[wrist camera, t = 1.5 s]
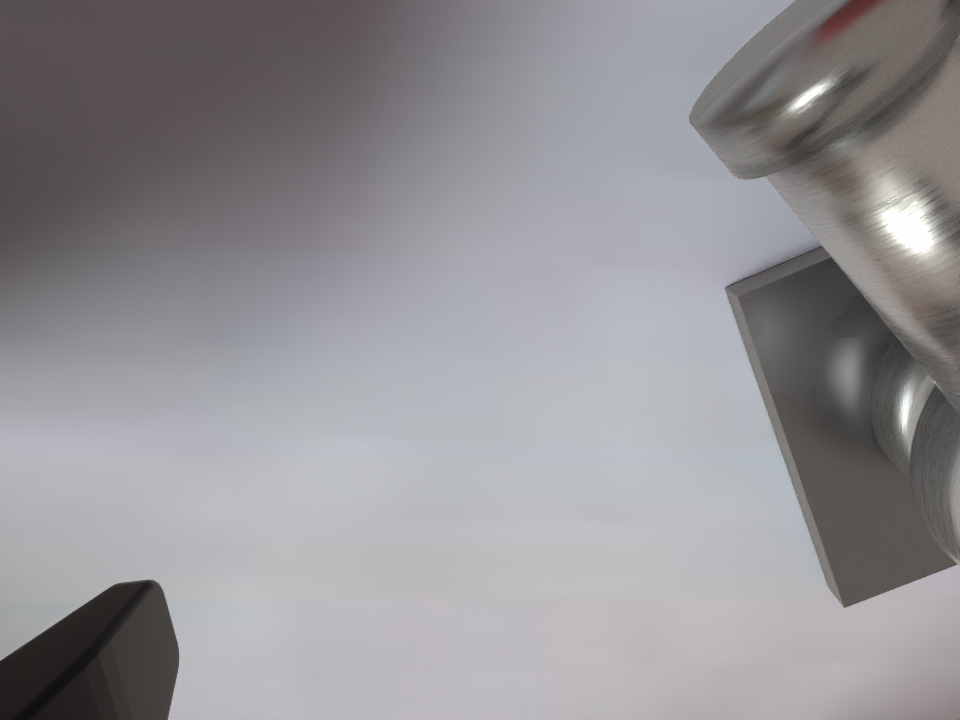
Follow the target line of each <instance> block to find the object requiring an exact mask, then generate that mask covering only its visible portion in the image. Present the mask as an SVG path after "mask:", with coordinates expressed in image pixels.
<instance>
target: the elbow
mask: <svg viewBox="0 0 960 720" xmlns="http://www.w3.org/2000/svg"><path fill="white" fill-rule="evenodd" d="M689 119H690V123H691V124H692V126H693V127H694V128H695V129H696V131H697V132H698V133H699V134H700V135H701V137H702V138H703V139H704V140H705V141H706V143H707V144H708V145H709V146H710V147H711V149H712V150H713V151H714V152H715V154H716V155H717V156H718V157H719V158H720V160H721V161H722V162H723V163H724V164H725V166H726V167H727V168H728V169H729V170H730V172H731V173H732V174H733V175H734V176H735V177H737V178H739V179H755V178H760V177H764V176H766V177H767V179H768V180H769V181H770V182H771V184H772V185H773V186H774V187H775V189H776V190H777V191H778V192H779V193H780V195H781V196H782V197H783V198H784V200H785V201H786V202H787V203H788V204H789V206H790V207H791V208H792V209H793V211H794V212H795V213H796V214H797V216H798V217H799V218H800V219H801V220H802V222H803V223H804V224H805V225H806V227H807V228H808V229H809V230H810V231H811V233H812V234H813V235H814V236H815V238H816V239H817V240H818V241H819V242H820V244H821V245H822V246H823V247H824V249H825V250H826V251H827V252H828V254H829V255H830V256H831V257H832V258H833V260H834V261H835V262H836V263H837V265H838V266H839V267H840V268H841V269H842V271H843V272H844V273H845V274H846V276H847V277H848V278H849V279H850V281H851V282H852V283H853V284H854V285H855V287H856V288H857V289H858V290H859V292H860V293H861V294H862V295H863V296H864V298H865V299H866V300H867V301H868V303H869V304H870V305H871V306H872V308H873V309H874V310H875V311H876V312H877V314H878V315H879V316H880V317H881V319H882V320H883V321H884V322H885V323H886V325H887V326H888V327H889V328H890V330H891V331H892V332H893V333H894V335H895V336H896V337H897V338H898V339H899V341H900V342H901V343H902V344H903V346H904V347H905V348H906V349H907V350H908V352H909V353H910V354H911V355H912V357H913V358H914V359H915V360H916V361H917V363H918V364H919V365H920V366H921V368H922V369H923V370H924V371H925V373H926V374H927V375H928V376H929V377H930V379H931V380H932V381H933V382H934V384H935V386H934V388H933V390H932V391H931V393H930V395H929V397H928V399H927V400H926V402H925V404H924V407H923V409H922V412H921V414H920V417H919V419H918V421H917V425H916V428H915V432H914V436H913V439H912V445H911V452H910V460H909V480H910V487H911V493H912V498H913V502H914V505H915V508H916V511H917V514H918V516H919V518H920V520H921V522H922V524H923V526H924V528H925V530H926V531H927V532H928V534H929V535H930V536H931V538H932V539H933V540H934V542H935V543H936V544H937V545H938V546H939V547H940V548H941V549H942V550H943V551H944V552H945V553H946V554H947V555H948V556H949V557H951V558H952V559H953V560H954V561H955V562H956V563H957V564H958V565H959V566H960V0H796V1H795V2H793V3H792V4H791V5H790V6H789V7H787V8H786V9H785V10H784V11H783V12H781V13H780V14H779V15H778V16H777V17H775V18H774V19H773V20H772V21H771V22H770V23H769V24H767V25H766V26H765V27H764V28H763V29H762V30H761V31H760V32H759V33H757V34H756V35H755V36H754V37H753V38H752V39H751V40H750V41H749V42H748V43H747V44H746V45H745V46H744V47H743V48H742V49H741V50H740V51H739V52H738V53H737V54H736V55H735V56H734V57H733V58H732V59H731V60H730V61H729V62H728V63H727V64H726V65H725V66H724V67H723V68H722V69H721V70H720V71H719V73H718V74H717V75H716V76H715V77H714V78H713V80H712V81H711V82H710V83H709V84H708V86H707V87H706V88H705V90H704V91H703V92H702V94H701V95H700V97H699V98H698V100H697V101H696V103H695V105H694V106H693V109H692V111H691V113H690V117H689Z"/></svg>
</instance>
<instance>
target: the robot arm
mask: <svg viewBox="0 0 960 720" xmlns="http://www.w3.org/2000/svg"><path fill="white" fill-rule="evenodd" d="M178 667H179V648H178V643H177V639H176V635H175V632H174V628H173V624H172V621H171V617H170V613H169V610H168V606H167V602H166V599H165V595H164V592H163V590H162V588H161V586H160V585H159V583H157V582H156V581H154V580H142V581H133V582H124V583H118V584H115V585H113V586H111V587H110V588H108V589H107V590H105V591H104V592H102V593H101V594H99V595H98V596H96V597H95V598H93V599H92V600H90V601H89V602H87V603H86V604H84V605H83V606H81V607H80V608H78V609H77V610H75V611H74V612H72V613H71V614H69V615H68V616H67V617H65V618H64V619H62V620H61V621H59V622H58V623H56V624H55V625H53V626H52V627H50V628H49V629H47V630H46V631H44V632H43V633H41V634H40V635H38V636H37V637H35V638H34V639H32V640H31V641H29V642H28V643H26V644H25V645H23V646H22V647H20V648H19V649H17V650H16V651H14V652H13V653H11V654H10V655H8V656H7V657H5V658H4V659H2V660H1V661H0V720H168V715H169V711H170V706H171V701H172V697H173V692H174V687H175V682H176V678H177V673H178Z"/></svg>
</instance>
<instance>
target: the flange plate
mask: <svg viewBox="0 0 960 720" xmlns="http://www.w3.org/2000/svg"><path fill="white" fill-rule="evenodd" d="M725 290H726V293H727V296H728V299H729V302H730V305H731V308H732V310H733V313H734V316H735V319H736V322H737V325H738V328H739V331H740V333H741V336H742V339H743V342H744V345H745V348H746V351H747V354H748V357H749V359H750V362H751V365H752V368H753V371H754V374H755V377H756V380H757V382H758V385H759V388H760V391H761V394H762V397H763V400H764V403H765V406H766V408H767V411H768V414H769V417H770V420H771V423H772V426H773V429H774V432H775V434H776V437H777V440H778V443H779V446H780V449H781V452H782V455H783V457H784V460H785V463H786V466H787V469H788V472H789V475H790V478H791V481H792V483H793V486H794V489H795V492H796V495H797V498H798V501H799V504H800V506H801V509H802V512H803V515H804V518H805V521H806V524H807V527H808V530H809V532H810V535H811V538H812V541H813V544H814V547H815V550H816V553H817V555H818V558H819V561H820V564H821V567H822V570H823V573H824V576H825V579H826V581H827V584H828V587H829V589H830V590H831V591H832V593H833V594H834V595H835V597H836V598H837V599H838V600H839V602H840V603H841V604H842V606H843V607H844V608H845V607H848V606H851V605H853V604H856V603H858V602H861V601H864V600H866V599H869V598H871V597H874V596H877V595H879V594H882V593H884V592H887V591H890V590H892V589H895V588H897V587H900V586H903V585H905V584H908V583H911V582H913V581H916V580H918V579H921V578H924V577H926V576H929V575H931V574H934V573H937V572H939V571H942V570H944V569H947V568H950V567H952V566H955V565H957V563H956V562H955V561H954V560H953V559H952V558H951V557H949V556H948V555H947V554H946V553H945V552H944V551H943V550H942V549H941V548H940V547H939V546H938V545H937V544H936V543H935V542H934V540H933V539H932V538H931V536H930V535H929V534H928V532H927V531H926V530H925V528H924V526H923V524H922V522H921V520H920V518H919V516H918V514H917V511H916V508H915V505H914V502H913V498H912V493H911V487H910V480H909V460H910V452H911V445H912V439H913V436H914V432H915V428H916V425H917V421H918V419H919V417H920V414H921V412H922V409H923V407H924V404H925V402H926V400H927V399H928V397H929V395H930V393H931V391H932V390H933V388H934V386H935V384H934V382H933V381H932V380H931V379H930V377H929V376H928V375H927V374H926V373H925V371H924V370H923V369H922V368H921V366H920V365H919V364H918V363H917V361H916V360H915V359H914V358H913V357H912V355H911V354H910V353H909V352H908V350H907V349H906V348H905V347H904V346H903V344H902V343H901V342H900V341H899V339H898V338H897V337H896V336H895V335H894V333H893V332H892V331H891V330H890V328H889V327H888V326H887V325H886V323H885V322H884V321H883V320H882V319H881V317H880V316H879V315H878V314H877V312H876V311H875V310H874V309H873V308H872V306H871V305H870V304H869V303H868V301H867V300H866V299H865V298H864V296H863V295H862V294H861V293H860V292H859V290H858V289H857V288H856V287H855V285H854V284H853V283H852V282H851V281H850V279H849V278H848V277H847V276H846V274H845V273H844V272H843V271H842V269H841V268H840V267H839V266H838V265H837V263H836V262H835V261H834V260H833V258H832V257H831V256H830V255H829V254H828V252H827V251H826V250H825V249H824V247H823V246H822V247H820V248H817V249H815V250H813V251H810V252H808V253H806V254H803V255H801V256H799V257H796V258H794V259H791V260H789V261H787V262H784V263H782V264H780V265H777V266H775V267H773V268H770V269H768V270H765V271H763V272H761V273H758V274H756V275H754V276H751V277H749V278H747V279H744V280H742V281H740V282H737V283H735V284H732V285H730V286H728V287H725Z"/></svg>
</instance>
